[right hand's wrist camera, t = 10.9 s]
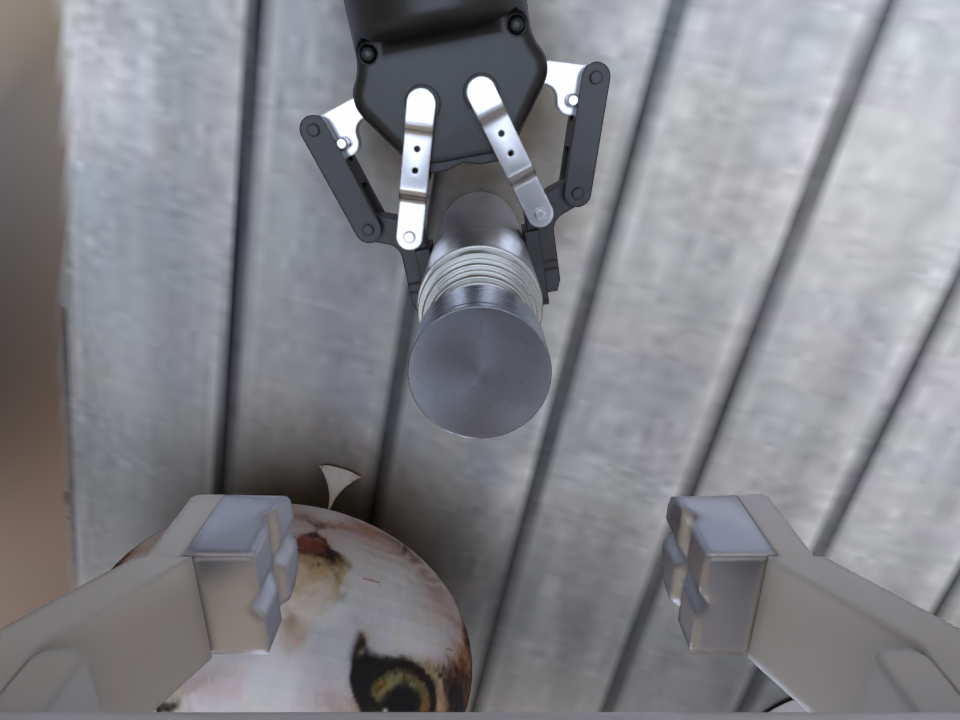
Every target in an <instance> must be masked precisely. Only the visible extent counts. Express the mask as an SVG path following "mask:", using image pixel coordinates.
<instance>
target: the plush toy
mask: <svg viewBox="0 0 960 720" xmlns="http://www.w3.org/2000/svg"><path fill="white" fill-rule="evenodd" d="M319 467H320V468H321V470H322V471H323V474H324V476H325V478H326V481H327V484H328V489H329V507H328V509H324V508H319V507H314V506H308V505H300V504H292V510H293V516H294V519H293V521H292V523H291V525H290V528H289V530H288V532H289V533H290V534H291V535H292V536H293V537H294V538H295V539H296V540H297V547H298V571H297V577H296V583H295V587H294V590H293V592H292V595H291V598H290V599H289V600H288V601H287V602H285V603H284V604H283V605H281V606H280V610H281V617H282V621H281V623H280V626H279V628H278V631H277V634H276V636H275V639H274V641H273V644H272V646H271V649H270V651H269V653H260V654H225V655H212V659H211V660H210V661H208V662H207V663H206V664H205V665H204V666H203V667H202V668H201V669H200V670H198V671H197V672H196V673H195V674H194V675H193V676H192V677H191V678H190V679H189V680H187V681H186V682H185V683H184V684H183V685H182V686H181V687H180V688H179V689H177V690H176V691H175V692H174V693H173V694H172V695H171V696H170V697H169V698H167V699H166V700H165V701H164V702H163V703H162V704H161V705H160V706H159V707H158V708H156V709H155V710H154V711H153V712H466V709H467V705H468V701H469V696H470V691H471V682H472V656H471V648H470V642H469V638H468V634H467V630H466V627H465V624H464V621H463V618H462V616H461V614H460V611H459V609H458V607H457V605H456V603H455V601H454V599H453V597H452V596H451V594H450V593H449V591H448V589H447V588H446V586H445V585H444V584H443V582H442V581H441V580H440V578H439V577H438V576H437V574H436V573H435V572H434V571H433V570H432V569H431V568H430V567H429V566H428V565H427V564H426V563H425V562H424V561H423V560H422V559H421V558H420V557H419V556H418V555H417V554H416V553H415V552H413V551H412V550H411V549H410V548H408V547H407V546H406V545H404V544H403V543H402V542H400V541H399V540H397V539H396V538H394V537H393V536H391V535H389V534H388V533H386V532H384V531H382V530H381V529H379V528H377V527H375V526H373V525H371V524H368V523H366V522H364V521H362V520H359V519H357V518H354V517H351V516H348V515H346V514H343V513H339V512H336V511H332V510H330V508H331V506H332V504H333V502H334V500H335V499H336V497H337V496H338V495H339V493H340V492H341V491H342V490H343V489H344V488H345V487H346V486H348V485H349V484H350V483H352V482H354V481H356V480H357V479H359V478H361V476H359V475H357V474H355V473H353V472H350V471H348V470H346V469H342V468H338V467H334V466H329V465H322V466H319ZM167 528H168V527H167ZM167 528H165V529H163V530H161V531H159V532H157V533H156V534H154V535H152V536H151V537H149V538H148V539H146V540H144V541H143V542H142V543H140V544H139V545H138V546H136V547H135V548H134V549H132V550H131V551H130V552H129V553H127V554H126V555H125V556H124V557H123V558H122V559H121V560H120V561H119V562H118V563H117V564H116V565H115V566H114V567H113V568H112V569H114V568H116V567H118V566H120V565H121V564H123V563H125V562H127V561H129V560H131V559H133V558H135V557H136V556H147V555H148V553H149V552H150V551H151V549H152V548H153V547H154V545H155V544H156V543H157V542H158V540H159V539H160V538H161V536H162V535H163V534H164V532H165V531H166V530H167ZM112 569H111V570H112Z"/></svg>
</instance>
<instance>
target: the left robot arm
mask: <svg viewBox="0 0 960 720" xmlns="http://www.w3.org/2000/svg"><path fill="white" fill-rule="evenodd" d="M344 4H345V8H346V12H347V17H348V21H349V26H350V30H351V35H352V39H353V44H354V48H355V53H356V58H357V76H356V81H355V85H354V89H353V98H352V99H350V100H348V101H346V102H345V103H343V104H341V105H339V106H337V107H335V108H333V109H332V110H330V111H328V112H326V113H324V114H322V115H310V116H307V117H305V118H304V119H303V120H302V122H301V124H300V133H301V136H302V138H303V140H304V141H305V143H306V145H307V147H308V149H309V150H310V152H311V154H312V156H313V158H314V159H315V161H316V163H317V165H318V167H319V168H320V170H321V172H322V174H323V176H324V177H325V179H326V181H327V183H328V185H329V186H330V188H331V190H332V192H333V194H334V196H335V197H336V199H337V201H338V203H339V205H340V206H341V208H342V210H343V212H344V214H345V215H346V217H347V219H348V221H349V223H350V224H351V226H352V228H353V230H354V232H355V233H356V235H357V237H358V238H359V239H360V240H361V241H363V242H366V243H372V242H379V243H385V244H390V245H392V246H394V247H396V248H397V249H398V250H399V251H400V253H401V255H402V258H403V263H404V267H405V272H406V276H407V281H408V284H409V290H410V294H411V299H412V303H413V305H414V307H415V308H416V310H417V296H418V291H419V288H420V285H421V282H422V279H423V276H424V273H425V270H426V267H427V264H428V261H429V258H430V255H431V253H432V250H433V247H434V244H433V240H428V237H427V232H426V230H427V221H428V212H429V202H430V194H431V189H432V181H433V173H435V172H440V171H446V170H448V169H451V168H453V167H455V166H457V165H459V164H461V163H464V162H466V163H477V164H484V163H490V162H495V161H499V162H500V164H501V166H502V168H503V170H504V172H505V174H506V176H507V178H508V180H509V182H510V184H511V186H512V188H513V190H514V192H515V194H516V196H517V198H518V200H519V202H520V205H521V207H522V209H523V213H524V219H525V224H521V227H522V233H523V238H524V241H525V244H526V247H527V250H528V253H529V256H530V259H531V262H532V265H533V268H534V271H535V274H536V277H537V280H538V283H539V286H540V289H541V292H542V298H543V305H545V304H549V299H548V292H551V291H557V290H558V286H559V282H560V275H559V268H558V260H557V252H556V245H555V237H554V224H555V222H556V220H557V219H558V217H559V216H560V215H562V214H563V213H565V212H567V211H569V210H570V209H572V208H574V207H580V206H583V205H585V204H586V203H587V202H588V201H589V199H590V196H591V191H592V185H593V179H594V173H595V167H596V161H597V155H598V149H599V143H600V137H601V131H602V125H603V119H604V113H605V107H606V101H607V94H608V88H609V82H610V71H609V69H608V67H607V66H606V65H605V64H603V63H601V62H591V63H588V64H586V65H581V64H572V63H564V62H555V61H547V60H546V57H545V54H544V52H543V51H542V49H541V48H540V47H539V45H538V44H537V42H536V40H535V38H534V36H533V34H532V31H531V27H530V22H529V14H528V7H527V0H344ZM543 85H547V86H549V87H550V88H551V89H552V90H553V92H554V95H555V105H556V108H557V110H558V111H559V112H560V113H562V114H564V115H568V122H567V129H566V136H565V143H564V150H563V156H562V163H561V170H560V177H559V181H557V182H556V183H554V184H552V185H550V186H549V187H547V188H545V189H544V190H543V187H542V185H541V183H540V181H539V179H538V177H537V175H536V172H535V170H534V168H533V166H532V163H531V161H530V159H529V157H528V155H527V153H526V151H525V149H524V147H523V145H522V142H521V140H520V138H519V135H520V133H521V131H522V129H523V126H524V124H525V122H526V120H527V118H528V116H529V114H530V112H531V110H532V108H533V106H534V104H535V101H536V99H537V97H538V95H539V93H540V91H541V89H542V87H543ZM364 119H365V120H366V121H367V122H368V123H369V124H370V125H371V126H372V127H373V128H374V129H375V130H376V131H377V132H378V133H379V134H380V135H381V136H382V137H384V138H385V139H386V140H387V141H388V142H389V143H390V144H391V145H392V146H393V147H394V148H395V149H396V150H397V151H398V152H399V153H400V154H401V155H402V165H401V176H400V187H399V197H400V200H399V211H398V214H393V213H387V212H385V211H384V210H383V208H382V206H381V204H380V202H379V200H378V198H377V196H376V194H375V193H374V191H373V189H372V187H371V185H370V183H369V181H368V179H367V177H366V176H365V174H364V172H363V170H362V168H361V166H360V164H359V162H358V160H357V159H356V157H355V154H357V153H358V152H359V151H360V149H361V146H362V139H361V136H360V133H359V128H360V124H361V122H362V121H363V120H364Z"/></svg>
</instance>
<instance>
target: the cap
mask: <svg viewBox="0 0 960 720" xmlns="http://www.w3.org/2000/svg"><path fill="white" fill-rule="evenodd" d="M551 376H552V367H551V360H550V355H549V352H548V348H547V345H546V341H545V338H544V334H543V331H542V328H541V325H540V322H539V320H538V318H537V316H536V315H535V313H534V312H533V310H532V309H531V308H530V307H529V306H528V305H527V303H525V302H524V301H523V300H522V299H521V298H519V297H518V296H516V295H515V294H513V293H511V292H509V291H507V290H505V289H502V288H499V287H495V286H489V285H470V286H465V287H461V288H458V289H455V290H452V291H450V292H448V293H446V294H445V295H443V296H442V297H440V298H439V299H438V300H436V301H435V302H434V303H433V304H432V305H431V306H430V307H429V309H428V310H427V311H426V313H425V314H424V316H423V317H422V319H421V321H420V324H419V326H418V329H417V333H416V336H415V340H414V343H413V347H412V350H411V354H410V357H409V363H408V381H409V386H410V390H411V393H412V395H413V398H414V400H415V402H416V403H417V405H418V407H419V408H420V409H421V411H422V412H423V413H424V414H425V415H426V416H427V417H428V418H429V419H430V420H431V421H432V422H433V423H435V424H436V425H437V426H439V427H441V428H442V429H444V430H446V431H448V432H451V433H453V434H456V435H459V436H463V437H469V438H491V437H496V436H500V435H504V434H507V433H509V432H511V431H514V430H516V429H517V428H519V427H521V426H522V425H524V424H525V423H526V422H527V421H529V420H530V419H531V418H532V417H533V416H534V415H535V414H536V413H537V411H538V410H539V409H540V407H541V406H542V404H543V402H544V401H545V399H546V396H547V394H548V392H549V388H550V384H551Z"/></svg>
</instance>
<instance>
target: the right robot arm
mask: <svg viewBox="0 0 960 720" xmlns="http://www.w3.org/2000/svg"><path fill="white" fill-rule="evenodd" d="M293 519H294V516H293V510H292V504H291V501H290V499H289V498H288V497H287V496H266V495H224V494H222V495H196V496H193V497H191V498H190V499H189V501H188V502H187V503H186V505H185V506H184V507H183V509H182V510H181V511H180V513H179V514H178V515H177V517H176V518H175V519H174V520H173V522H172V523H171V524H170V526H169V527H168V528H167V530H166V531H165V532H164V534H163V535H162V536H161V538H160V539H159V540H158V542H157V543H156V544H155V545H154V547H153V548H152V549H151V551H150V552H149V553H148V555H147V556H136V557H135V558H133V559H131V560H129V561H127V562H125V563H123V564H121V565H120V566H118V567H116V568H114V569H112V570H110V571H108V572H106V573H104V574H103V575H101V576H99V577H97V578H95V579H93V580H91V581H89V582H88V583H86V584H84V585H82V586H80V587H78V588H76V589H74V590H72V591H71V592H69V593H67V594H65V595H63V596H61V597H59V598H57V599H56V600H54V601H52V602H50V603H48V604H46V605H44V606H42V607H41V608H39V609H37V610H35V611H33V612H31V613H29V614H27V615H25V616H24V617H22V618H20V619H18V620H16V621H14V622H12V623H10V624H9V625H7V626H5V627H3V628H1V629H0V720H960V629H959V628H957V627H955V626H953V625H951V624H949V623H947V622H945V621H944V620H942V619H940V618H938V617H936V616H934V615H932V614H930V613H929V612H927V611H925V610H923V609H921V608H919V607H917V606H915V605H914V604H912V603H910V602H908V601H906V600H904V599H902V598H900V597H899V596H897V595H895V594H893V593H891V592H889V591H887V590H885V589H884V588H882V587H880V586H878V585H876V584H874V583H872V582H870V581H869V580H867V579H865V578H863V577H861V576H859V575H857V574H855V573H854V572H852V571H850V570H848V569H846V568H844V567H842V566H840V565H839V564H837V563H835V562H833V561H831V560H829V559H827V558H825V557H824V556H813V555H812V553H811V552H810V551H809V550H808V548H807V547H806V546H805V544H804V543H803V542H802V540H801V539H800V538H799V536H798V535H797V534H796V532H795V531H794V530H793V529H792V527H791V526H790V525H789V523H788V522H787V521H786V519H785V518H784V517H783V515H782V514H781V513H780V512H779V510H778V509H777V508H776V506H775V505H774V504H773V502H772V501H771V500H770V498H769V497H767V496H765V495H763V494H752V495H732V496H689V497H671V499H670V501H669V504H668V509H667V516H666V519H667V521H668V523H669V525H670V528H671V530H672V532H671V533H670V534H669V535H668V536H667V537H666V538H665V539H664V540H663V549H662V572H663V578H664V583H665V587H666V590H667V592H668V595H669V598H670V599H671V600H672V601H673V602H675V603H676V604H677V605H679V606H680V610H679V617H678V621H679V623H680V626H681V628H682V631H683V633H684V636H685V638H686V641H687V643H688V646H689V648H690V651H691V653H699V654H734V655H748V657H747V658H749V659H750V660H751V661H752V662H753V663H754V664H755V665H756V666H757V667H759V668H760V669H761V670H762V671H763V672H764V673H765V674H766V675H767V676H768V677H770V678H771V679H772V680H773V681H774V682H775V683H776V684H777V685H778V686H780V687H781V688H782V689H783V690H784V691H785V692H786V693H787V694H788V695H789V696H791V697H792V698H793V699H794V700H791V701H789V702H786V703H784V704H782V705H780V706H778V707H776V708H774V709H773V710H771V711H769V712H153V711H154V710H155V709H156V708H158V707H159V706H160V705H161V704H162V703H163V702H164V701H165V700H166V699H167V698H169V697H170V696H171V695H172V694H173V693H174V692H175V691H176V690H177V689H179V688H180V687H181V686H182V685H183V684H184V683H185V682H186V681H187V680H189V679H190V678H191V677H192V676H193V675H194V674H195V673H196V672H197V671H198V670H200V669H201V668H202V667H203V666H204V665H205V664H206V663H207V662H208V661H210V660H211V659H212V655H225V654H260V653H269V651H270V649H271V646H272V644H273V641H274V639H275V636H276V634H277V631H278V628H279V626H280V623H281V621H282V617H281V610H280V606H281V605H283V604H284V603H285V602H287V601H288V600H289V599H290V598H291V595H292V592H293V590H294V587H295V583H296V577H297V571H298V547H297V540H296V539H295V538H294V537H293V536H292V535H291V534H290V533H289V532H288V530H289V528H290V525H291V523H292V521H293Z"/></svg>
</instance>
